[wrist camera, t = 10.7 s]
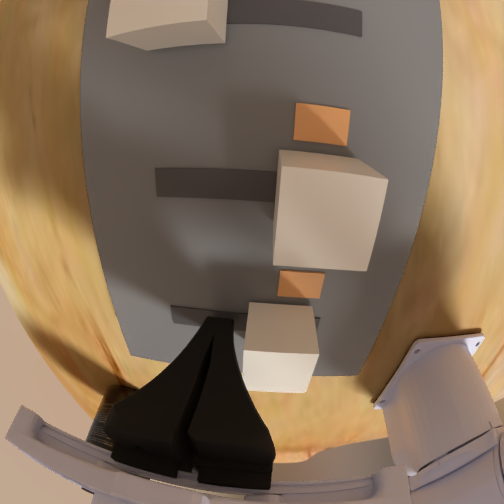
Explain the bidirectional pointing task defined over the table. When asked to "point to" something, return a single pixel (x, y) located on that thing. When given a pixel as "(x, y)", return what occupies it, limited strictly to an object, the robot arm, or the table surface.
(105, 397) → the supplement bottle
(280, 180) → the slider middle
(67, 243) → the table surface
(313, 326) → the block
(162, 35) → the block
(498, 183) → the table surface
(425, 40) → the switch panel
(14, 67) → the table surface
